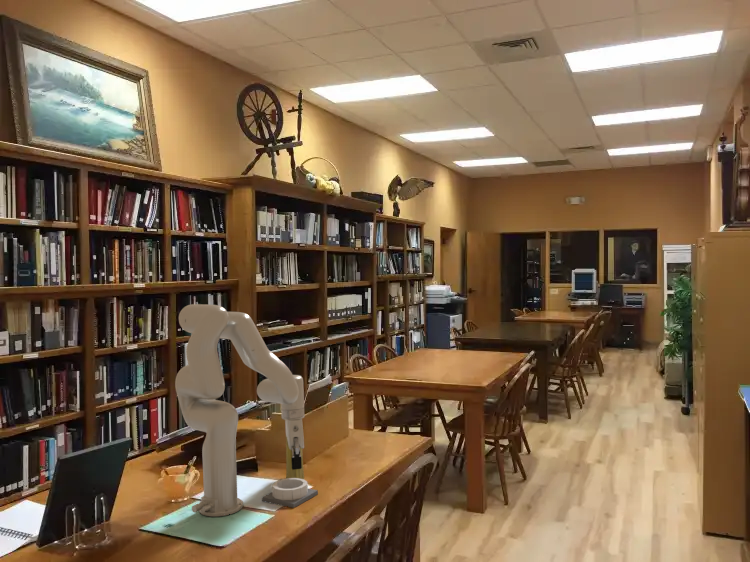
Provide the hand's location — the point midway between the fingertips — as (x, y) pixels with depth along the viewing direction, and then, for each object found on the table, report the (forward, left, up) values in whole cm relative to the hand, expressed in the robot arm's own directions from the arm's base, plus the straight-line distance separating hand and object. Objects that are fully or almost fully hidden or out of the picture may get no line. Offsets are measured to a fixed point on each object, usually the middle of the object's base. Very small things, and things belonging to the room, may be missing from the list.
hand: (294, 464), depth 206 cm
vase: (0, 0, -5) cm, 5 cm away
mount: (-14, -9, -5) cm, 17 cm away
